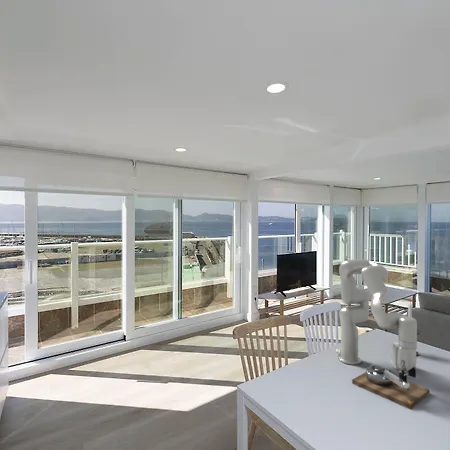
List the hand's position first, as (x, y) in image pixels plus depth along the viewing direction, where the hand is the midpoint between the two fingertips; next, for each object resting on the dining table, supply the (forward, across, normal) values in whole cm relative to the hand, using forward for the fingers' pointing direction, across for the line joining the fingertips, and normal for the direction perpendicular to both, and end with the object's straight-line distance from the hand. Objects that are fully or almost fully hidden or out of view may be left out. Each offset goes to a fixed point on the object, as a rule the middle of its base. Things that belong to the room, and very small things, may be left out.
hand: (407, 379), depth 144 cm
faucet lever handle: (+4, +5, -7) cm, 9 cm away
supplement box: (+7, -26, -14) cm, 30 cm away
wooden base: (+6, +2, -7) cm, 10 cm away
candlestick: (+7, -51, -19) cm, 55 cm away
